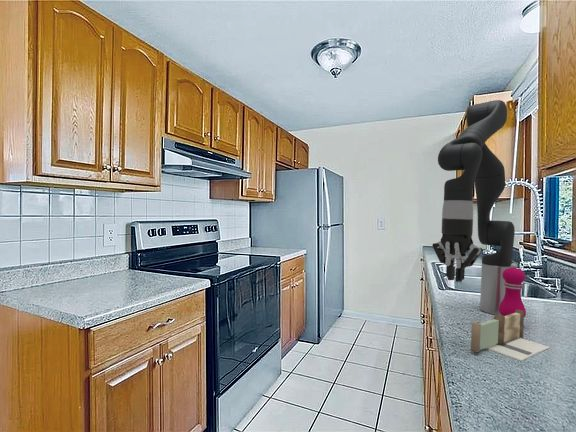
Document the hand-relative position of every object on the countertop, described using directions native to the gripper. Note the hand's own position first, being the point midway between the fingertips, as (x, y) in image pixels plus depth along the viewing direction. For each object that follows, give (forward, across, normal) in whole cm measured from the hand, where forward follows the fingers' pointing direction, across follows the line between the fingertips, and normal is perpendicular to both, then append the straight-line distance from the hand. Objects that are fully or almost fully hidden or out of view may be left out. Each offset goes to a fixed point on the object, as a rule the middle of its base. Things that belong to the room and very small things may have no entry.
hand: (454, 280), depth 89 cm
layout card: (+17, -9, -12) cm, 23 cm away
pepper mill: (+17, -1, -31) cm, 35 cm away
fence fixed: (+17, -7, -16) cm, 24 cm away
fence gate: (+16, -7, -3) cm, 18 cm away
